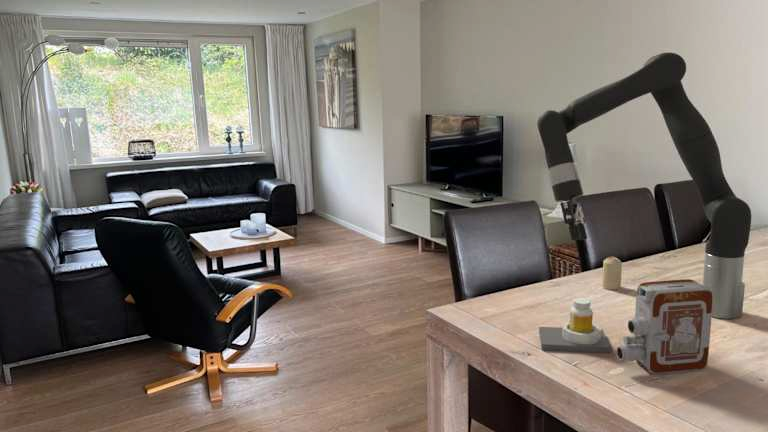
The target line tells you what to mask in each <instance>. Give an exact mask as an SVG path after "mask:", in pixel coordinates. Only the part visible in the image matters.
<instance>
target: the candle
mask: <svg viewBox="0 0 768 432" xmlns="http://www.w3.org/2000/svg"><path fill="white" fill-rule="evenodd" d="M602 264H603V265H602V267H603V268H602V288H603V289H605V290H610V291H617V290H621V287H622V271H623V269H622V268H623V267H622V266H623V262H622V261H621V260H620V259H619V258H617V257H615V256H608V257H607V258H605V259H604V260H603V263H602Z"/></svg>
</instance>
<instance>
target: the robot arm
mask: <svg viewBox="0 0 768 432" xmlns="http://www.w3.org/2000/svg"><path fill="white" fill-rule="evenodd" d="M686 71H687V64H686V61H685V60H684V58H683V57H682V55H680V54H677V53H675V52H661V53H659V54H655V55H654V56H651V57H650V58H649V59H647V60H646V62H645V63H644V64H643V67H641V68H639V69H638V70H636V71H634V72H633V73H631V74H629V75H627V76H625V77H624V78H622V79H619V80H617V81H614V82H612V83H610V84H607V85H605V86H602V87H600V88H597V89H595V90H592V91H590V92H589V93H587V94H585V95H582V96H580V97H578V98H576V99H574V100H573V101H571V102H570V103H569V104H568V105H567V106H566V107H565V108H563V109H561V110H559V111H556V110H550V109H549V110H546V111H544V112H542V113H541V114H540V116H539V117H538V119H537V129H538V132H539V136H540V139H541V143H542V145H543V149H544V155H545V160H546V161H545V162H546V165H547V169H548V176H549V181H550V185H551V190H552V192H553V197H554V200H555V202H557V203H560V208H561V213H562V217H563V220H564V224H565V225H566V226H567V227H568V231H569V233H570V234H569V235H570V237H571V240H572V241H577V240H579V241H584V240H587V239H588V235H587V232H586V228H585V226H586V223H587V221H586V219H585V215H584V211H583V208H582V203H581V202H578V200H577V199H579V198H580V197H582V196H583V195H584V192H583V187H582V183H581V179H580V176H579V172H578V169H577V167H576V164H575V160H574V156H573V152H572V150H571V147H570V144H569V140H568V139H569V138H568V134H569V133H571V132H572V131H573V130H575V129H577V128H578V127H580V126H582V125H584V124H587V123H589V122H591V121H593V120H595V119H597V118H599V117H601V116H603V115H606V114H607V113H609V112H610V111H613V110H615V109H617V108H618V107H621V106H622V105H625V104H627V103H628V102H631V101H633V100H635V99H637V98H640V97H642V96H645V95H648V94H651V96H652V97H653V99H654V101H655V102H656V104H657V106H658V107H659V110H660V111H661V114H662V117H663V119H664V122H665V125H666V128H667V130H668V132H669V134H670V136H671V139H672V143H673V145H674V147H675V149H676V151H677V153H678V155H679V157H680V159H681V161H682V163H683V164H684V167H685V169H686V170H687V172H688V174H689V176H690V177H691V180H692V181H693V183H694V184H695V186H696V189H697V191H698V195H699V197H700V200H701V204H702V207H703V210H704V214H705V216H706V218H707V220H708V221H709V223H711V225H710V235H709V240H708V241H707V242H706V243H705V249H704V260H703V261H704V263H703V265H704V266H703V273H702V274H703V277H702V278H703V279H702V285H704V286H709V287H710V289H711V291H712V294H713V305H712V318H718V319H726V320H727V319H728V320H729V319H735V318H742V317H743V310H744V309H743V307H744V300H745V299H744V298H745V290H746V289H745V286H746V285H745V283H744V282H743V275H744V262H745V254H746V253H745V252H746V249H747V247H748V244H749V241H750V233H751V227H752V211H751V208H750V206H749V204H748V203H747V202H745V201H744V200H742V199H741V198H739V197H737V195H736V194H735V193H734V192H733V189H732V188H731V186H730V184H729V183H728V181H727V179H726V177H725V174H724V171H723V167H722V159H721V158H722V157H721V154H720V148H719V146H718V142H717V141H716V138H715V136H714V134H713V132H712V129H711V127H710V125H709V124H708V122H707V121H706V120H705V118H704V117H703V115H702V113H700V112H699V110H698V109H697V108H696V107H695V106H694V104H693V103H692V102H691V100H690V99H689V97H688V96H687V93H686V90H685V89H684V85H683V82H682V80H683V79H684V77H685V76H686Z"/></svg>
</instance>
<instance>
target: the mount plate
mask: <svg viewBox="0 0 768 432" xmlns="http://www.w3.org/2000/svg"><path fill="white" fill-rule="evenodd" d="M569 326H570V321H566V322H565V323H563V324H562V327H558V326H557V327H555V326H538V334H539V341H540V346H541V350H542V351H543V350H544V351H559V352H577V353H578V352H581V353H601V354H611V346H610V343H609V341H608V338H607V336H606V333H605V332H604V329H603V328H601V326H600V325H598V324H596V323H594V322H592V333H577V332H573V331H571V330H569Z"/></svg>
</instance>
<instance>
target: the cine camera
mask: <svg viewBox="0 0 768 432" xmlns="http://www.w3.org/2000/svg"><path fill="white" fill-rule="evenodd" d="M712 305H713V294H712V291H711V289H710V287H709V286H704V285H703V283H699V282H698V281H696V280H693V279H689V278H688V279H687V278H686V279H684V278H683V279H670V280H657V281H645V282H641V283H639V284H638V286H637V288H636V294H635V313H634V314H635V315H634V317H632V318H631V319H630V320H628V321H627V328H628V332H629V333H630V334H632V335H633V336H629V335H627V336H623V344H622V345H618V346H617V347H616V356H617V359H619V360H620V361H623V362H624V361H625V362H627V361H628V362H634V361H635V362H636V363H638V364H639V365H640V366H641V367H642V368H643V369H645V370H646V371H647V372H648V373H650V374H653V375H658V374H660V375H661V374H671V373H683V372H693V371H694V372H695V371H696V372H697V371H701V370H704V369H705V368H706V367H707V365H708V359H709V351H710V342H711V341H710V340H711V330H712V329H711V328H712V318H713V317H712Z"/></svg>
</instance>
